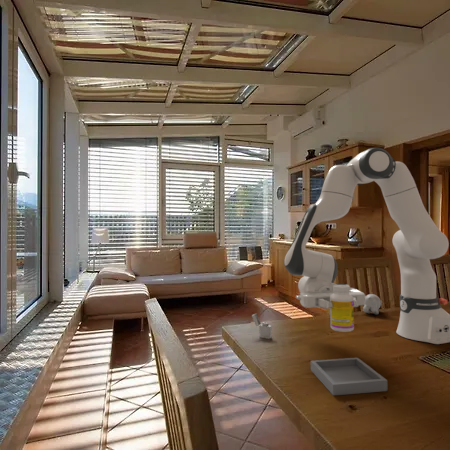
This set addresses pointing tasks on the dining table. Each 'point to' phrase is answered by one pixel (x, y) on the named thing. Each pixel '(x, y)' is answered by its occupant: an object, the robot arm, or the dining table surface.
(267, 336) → the lighter
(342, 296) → the supplement bottle
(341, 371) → the tray
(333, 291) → the robot arm
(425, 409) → the dining table surface
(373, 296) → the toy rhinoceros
